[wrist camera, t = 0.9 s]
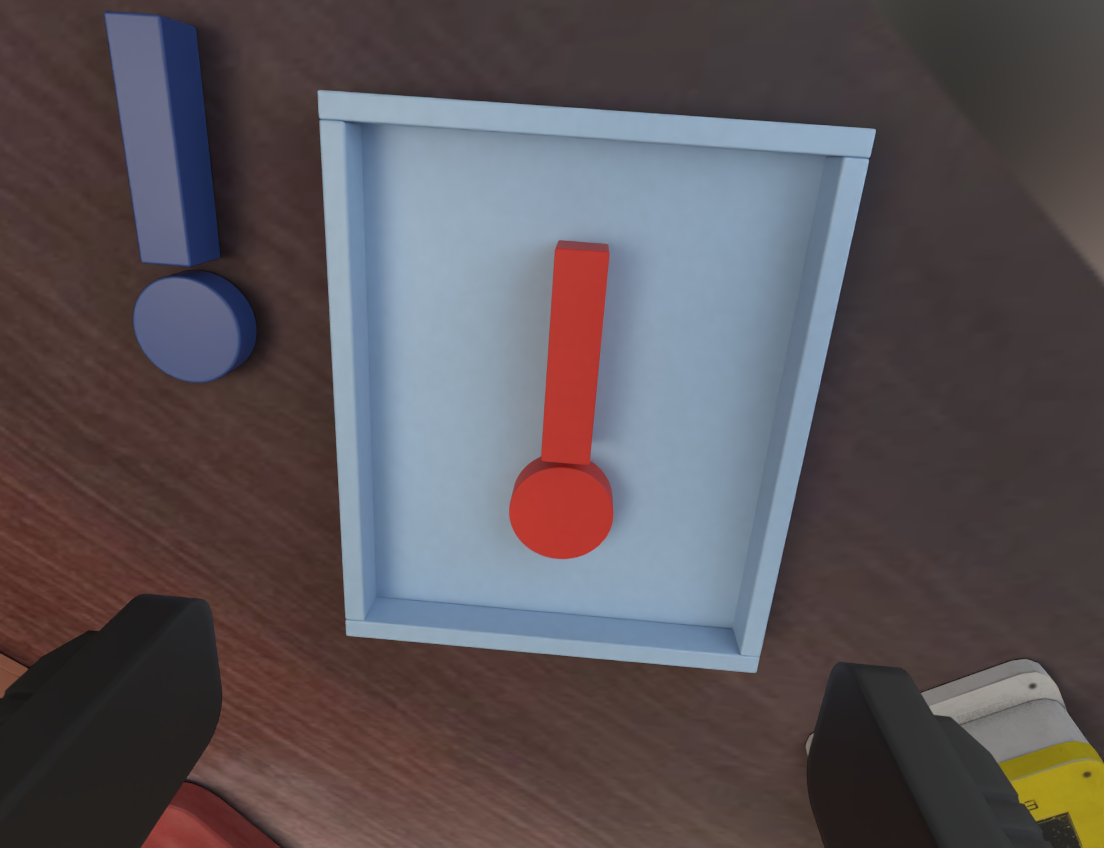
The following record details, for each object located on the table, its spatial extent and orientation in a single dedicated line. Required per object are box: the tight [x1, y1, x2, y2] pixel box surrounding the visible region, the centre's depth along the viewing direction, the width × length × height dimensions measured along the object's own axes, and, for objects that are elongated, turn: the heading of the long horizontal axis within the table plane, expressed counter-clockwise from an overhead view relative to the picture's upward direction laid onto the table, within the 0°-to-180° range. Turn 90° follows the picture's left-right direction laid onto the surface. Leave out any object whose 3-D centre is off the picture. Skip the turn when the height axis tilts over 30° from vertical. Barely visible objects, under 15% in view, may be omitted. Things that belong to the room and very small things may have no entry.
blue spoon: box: [104, 11, 257, 383], centre depth 20 cm, size 10×3×2 cm, turn 176°
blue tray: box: [318, 90, 876, 673], centre depth 22 cm, size 17×14×2 cm
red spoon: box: [509, 240, 614, 559], centre depth 21 cm, size 10×3×2 cm, turn 176°
